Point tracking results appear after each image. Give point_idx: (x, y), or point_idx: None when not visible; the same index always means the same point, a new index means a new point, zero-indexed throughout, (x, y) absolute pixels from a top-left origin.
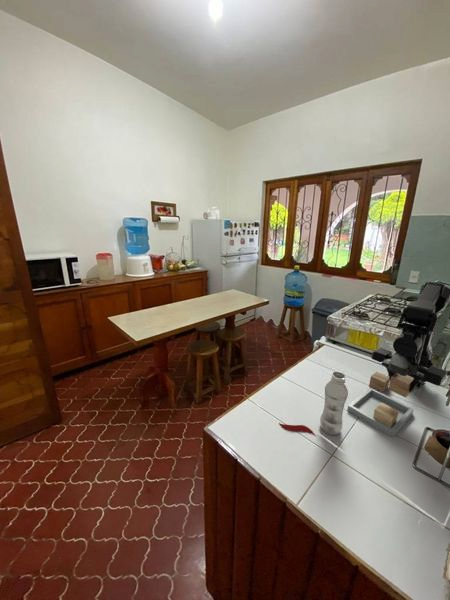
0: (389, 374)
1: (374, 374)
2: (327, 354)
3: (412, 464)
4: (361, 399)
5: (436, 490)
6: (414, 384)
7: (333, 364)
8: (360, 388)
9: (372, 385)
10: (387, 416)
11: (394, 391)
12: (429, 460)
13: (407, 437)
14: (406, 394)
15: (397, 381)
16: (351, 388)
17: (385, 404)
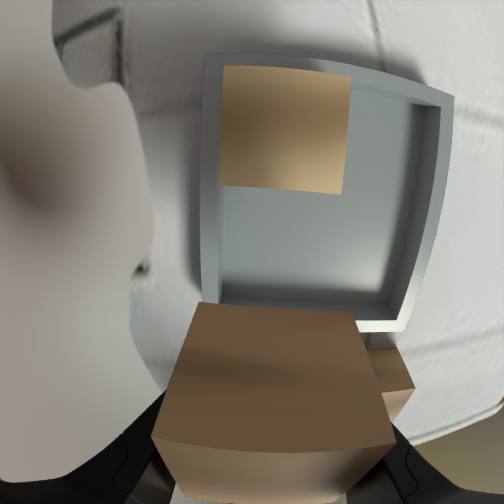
0: (403, 449)
1: (401, 405)
2: (500, 380)
3: (121, 16)
4: (424, 209)
5: (65, 6)
6: (123, 447)
7: (494, 357)
8: (424, 313)
9: (389, 358)
10: (258, 68)
11: (299, 314)
12: (86, 87)
13: (169, 132)
14: (191, 326)
15: (305, 421)
16: (453, 283)
17: (315, 191)
